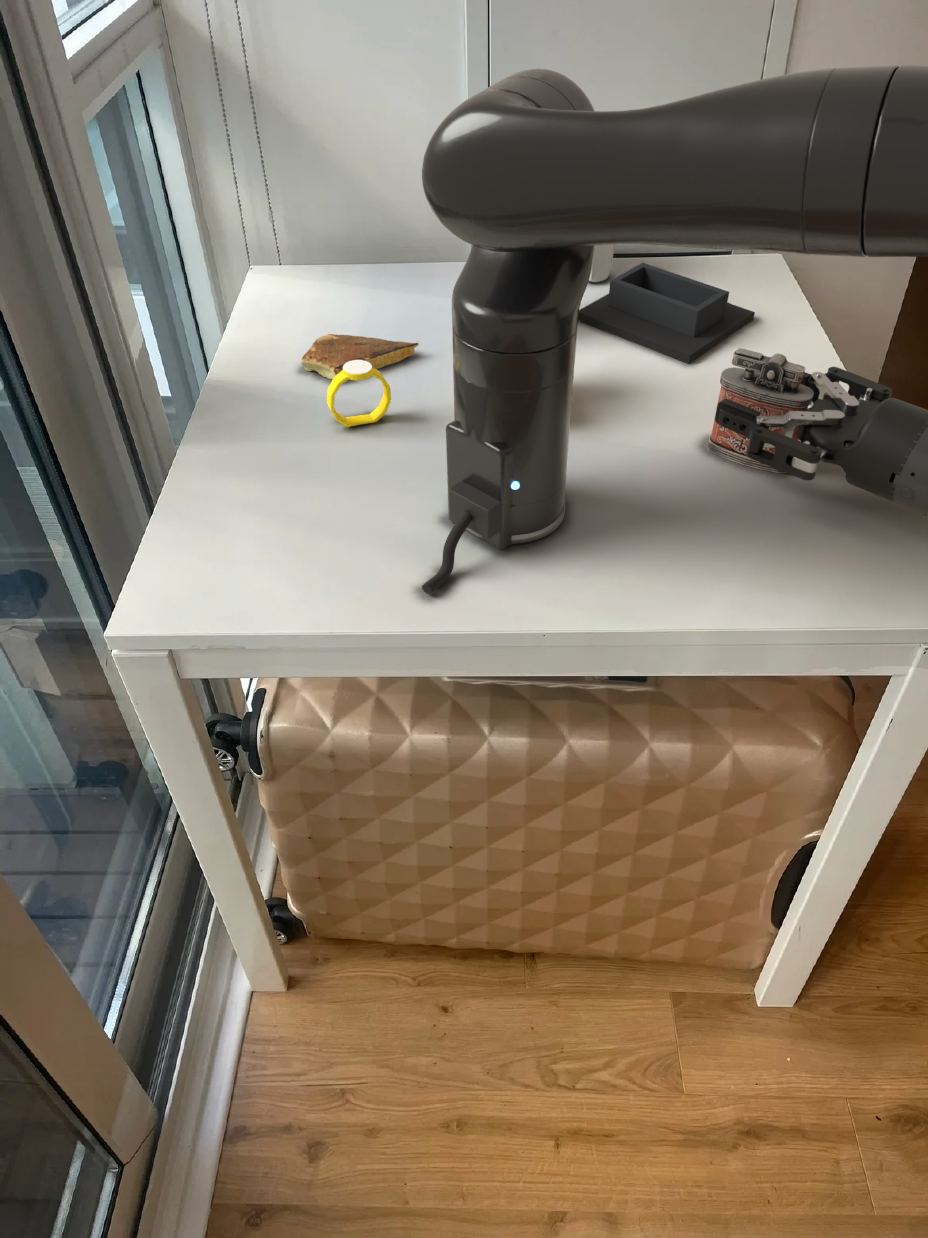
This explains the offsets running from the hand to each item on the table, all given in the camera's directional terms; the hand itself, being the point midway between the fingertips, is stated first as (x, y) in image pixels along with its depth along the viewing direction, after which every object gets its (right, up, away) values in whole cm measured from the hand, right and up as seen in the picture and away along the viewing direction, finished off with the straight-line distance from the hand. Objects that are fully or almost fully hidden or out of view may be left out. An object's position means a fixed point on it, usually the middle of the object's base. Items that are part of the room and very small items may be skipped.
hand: (743, 390), depth 84 cm
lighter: (+2, -5, +3) cm, 6 cm away
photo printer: (-11, +23, +33) cm, 41 cm away
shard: (-37, +8, +17) cm, 41 cm away
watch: (-35, -1, +8) cm, 36 cm away
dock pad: (-2, +13, +22) cm, 26 cm away
